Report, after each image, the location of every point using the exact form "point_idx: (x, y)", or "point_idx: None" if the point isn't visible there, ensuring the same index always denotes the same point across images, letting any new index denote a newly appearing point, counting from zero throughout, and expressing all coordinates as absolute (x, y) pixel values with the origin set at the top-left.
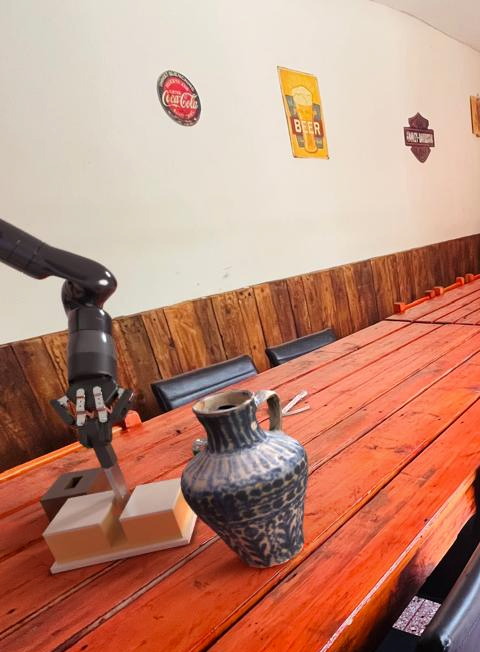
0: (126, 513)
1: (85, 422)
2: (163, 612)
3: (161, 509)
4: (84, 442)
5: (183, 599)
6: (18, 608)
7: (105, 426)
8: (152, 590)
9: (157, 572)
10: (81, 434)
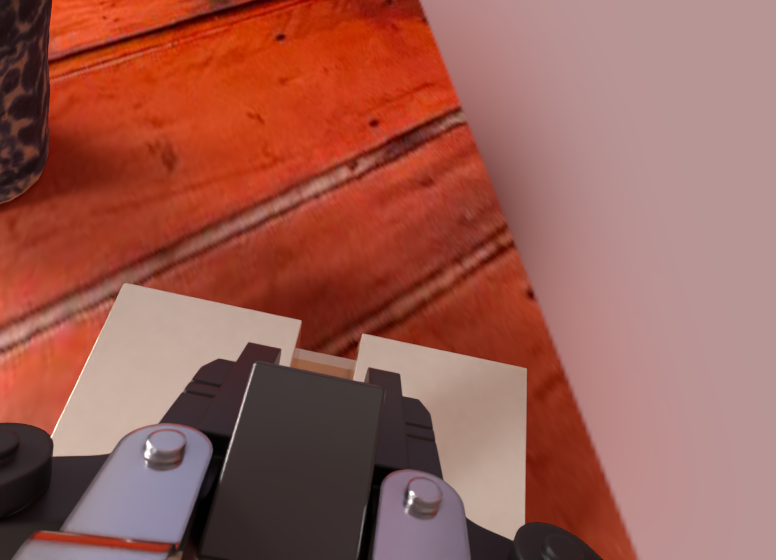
0: (277, 345)
1: (359, 421)
2: (246, 123)
3: (159, 298)
4: (384, 374)
5: (206, 134)
6: (522, 295)
7: (187, 425)
8: (261, 193)
9: (245, 247)
10: (413, 443)
